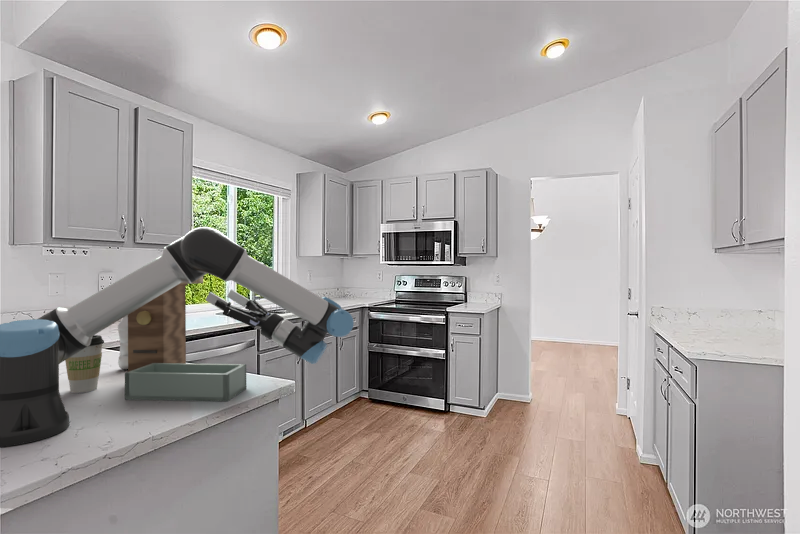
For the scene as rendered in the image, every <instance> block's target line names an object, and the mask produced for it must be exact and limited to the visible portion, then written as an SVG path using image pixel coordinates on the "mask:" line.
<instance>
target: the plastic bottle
mask: <svg viewBox="0 0 800 534" xmlns="http://www.w3.org/2000/svg"><path fill="white" fill-rule="evenodd" d="M119 321H120V322H119V323H118V324H117V330H118V336H119V337H118V338H119V356H118V362H117V365H118V367H119V369H121V370H127V369H128V315H127V316H125V317H123V318H122V319H120V320H119Z"/></svg>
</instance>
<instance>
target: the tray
mask: <svg viewBox="0 0 800 534" xmlns="http://www.w3.org/2000/svg"><path fill="white" fill-rule="evenodd" d="M246 389H247V364H246V363H244V364H243V363H187V362H186V363H152V364H149V365H146V366H143V367H140V368H138V369H135V370H132V371H129V372H128V371H127V372H125V373H124V400H126V401H127V400H130V401H132V400H138V401H139V400H140V401H143V400H144V401H180V402H182V401H194V402H195V401H196V402H199V401H200V402H229V401H230V400H232V399H233V398H235V397H236V396H237V395H239V394H241V393H242V392H243V391H245V390H246Z"/></svg>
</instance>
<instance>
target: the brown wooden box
mask: <svg viewBox="0 0 800 534" xmlns="http://www.w3.org/2000/svg"><path fill="white" fill-rule="evenodd" d="M188 285H189V284H178V285H176V286H175V287H173V288H171V289H170V290H168V291H166V292H165V293H163V294H162V295H160V296H158V297H157V298H155V299H153V300H152V301H150V302H148V303H147V304H145V305H143V306H142V307H140V308H138V309H137V310H135V311H133V312H132V313H130V314H128V371H127V372H129V371H132V370H135V369H138V368H140V367H143V366H146V365H149V364H152V363H186V364H187V353H186V352H187V351H186V350H187V342H186V340H187V339H186V338H187V337H186V336H187V335H186V333H187V331H186V330H187V329H186V325H187V324H186V322H187V321H186V318H187V317H186V316H187V315H186V313H187V312H186V305H187V304H186V287H187V286H188Z"/></svg>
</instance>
